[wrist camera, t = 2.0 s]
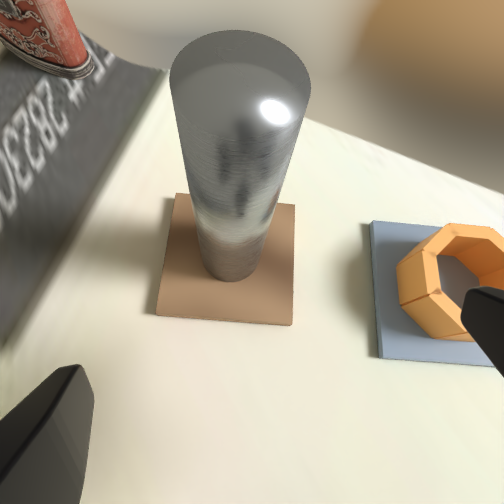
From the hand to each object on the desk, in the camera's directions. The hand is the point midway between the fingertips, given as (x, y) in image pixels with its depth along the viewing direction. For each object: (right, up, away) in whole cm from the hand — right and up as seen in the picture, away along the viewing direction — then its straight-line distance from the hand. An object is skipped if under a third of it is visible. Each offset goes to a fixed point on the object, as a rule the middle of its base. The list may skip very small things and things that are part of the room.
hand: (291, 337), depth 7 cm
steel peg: (-2, +2, +13) cm, 13 cm away
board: (-2, +1, +14) cm, 14 cm away
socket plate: (+12, -1, +14) cm, 18 cm away
